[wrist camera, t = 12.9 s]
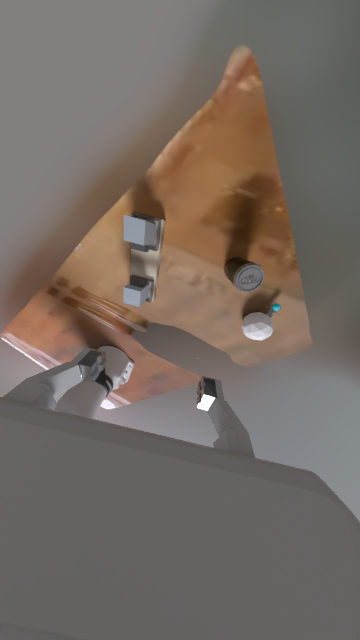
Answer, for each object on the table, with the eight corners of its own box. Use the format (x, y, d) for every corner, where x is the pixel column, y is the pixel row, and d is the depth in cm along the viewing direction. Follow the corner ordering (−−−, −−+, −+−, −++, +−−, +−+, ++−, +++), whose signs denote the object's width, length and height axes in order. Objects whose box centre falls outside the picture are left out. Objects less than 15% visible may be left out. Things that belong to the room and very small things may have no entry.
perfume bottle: (230, 326, 40) (261, 291, 35) (242, 329, 45) (269, 300, 41) (252, 345, 35) (290, 308, 30) (261, 346, 40) (295, 315, 36)
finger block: (153, 251, 33) (143, 253, 27) (137, 247, 33) (123, 248, 27) (155, 224, 30) (145, 220, 24) (138, 220, 30) (123, 214, 24)
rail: (155, 298, 42) (152, 302, 39) (133, 293, 42) (128, 296, 39) (165, 221, 32) (162, 219, 29) (136, 213, 32) (130, 211, 29)
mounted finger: (148, 296, 39) (139, 306, 33) (134, 293, 39) (123, 302, 33) (150, 278, 36) (141, 285, 30) (135, 274, 36) (123, 280, 30)
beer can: (225, 281, 37) (236, 296, 27) (222, 261, 35) (232, 269, 24) (246, 275, 36) (266, 288, 25) (244, 253, 33) (265, 259, 23)
